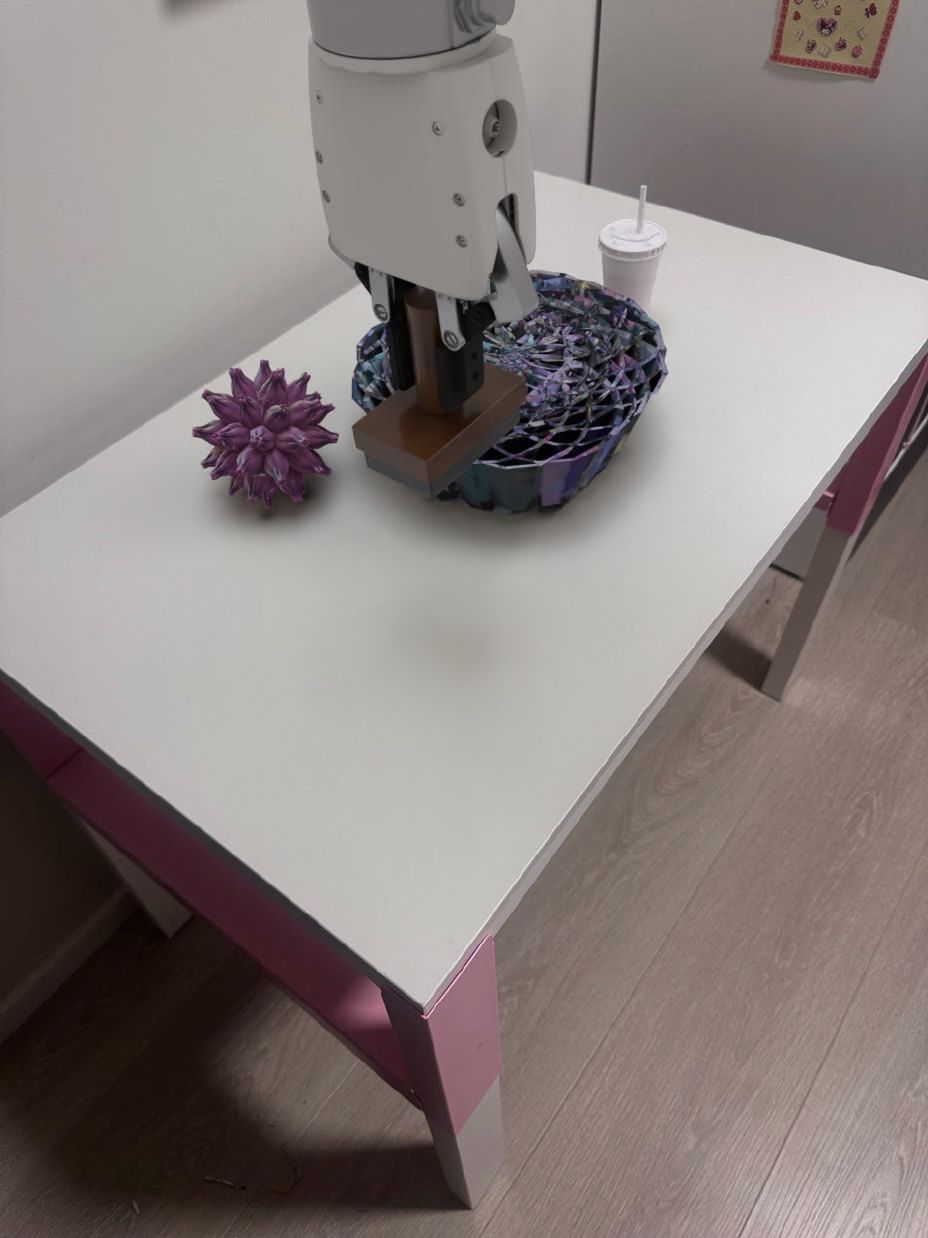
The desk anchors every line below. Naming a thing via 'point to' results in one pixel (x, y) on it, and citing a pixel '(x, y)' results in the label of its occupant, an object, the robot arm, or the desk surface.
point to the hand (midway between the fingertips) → (439, 385)
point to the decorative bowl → (549, 392)
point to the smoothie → (632, 255)
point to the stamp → (435, 414)
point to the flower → (266, 434)
